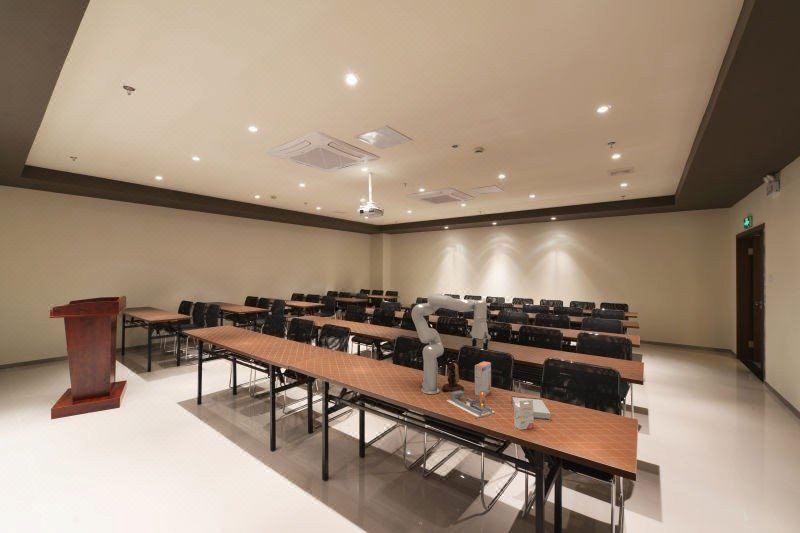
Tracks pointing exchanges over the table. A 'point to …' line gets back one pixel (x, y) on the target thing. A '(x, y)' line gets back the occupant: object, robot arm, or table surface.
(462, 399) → the nut
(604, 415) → the table surface
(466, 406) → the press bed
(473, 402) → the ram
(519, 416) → the ink cartridge box
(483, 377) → the cracker box
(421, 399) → the table surface
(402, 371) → the table surface
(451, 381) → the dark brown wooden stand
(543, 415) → the disc drive
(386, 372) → the table surface
